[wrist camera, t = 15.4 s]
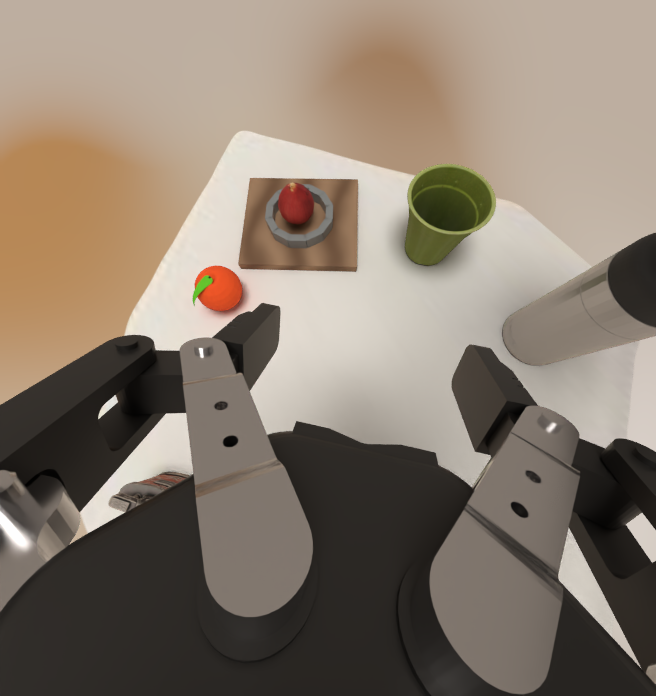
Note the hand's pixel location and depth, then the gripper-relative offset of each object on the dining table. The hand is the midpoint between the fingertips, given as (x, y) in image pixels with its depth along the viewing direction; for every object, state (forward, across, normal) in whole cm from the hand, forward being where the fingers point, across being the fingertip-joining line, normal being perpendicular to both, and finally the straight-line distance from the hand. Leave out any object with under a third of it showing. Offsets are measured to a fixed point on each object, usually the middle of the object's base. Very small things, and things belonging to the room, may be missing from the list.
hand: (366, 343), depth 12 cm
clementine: (+30, +23, +14) cm, 40 cm away
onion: (+41, +14, +1) cm, 43 cm away
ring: (+41, +14, 0) cm, 43 cm away
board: (+42, +14, +1) cm, 44 cm away
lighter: (+10, +20, +34) cm, 40 cm away
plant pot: (+42, -9, +2) cm, 43 cm away
